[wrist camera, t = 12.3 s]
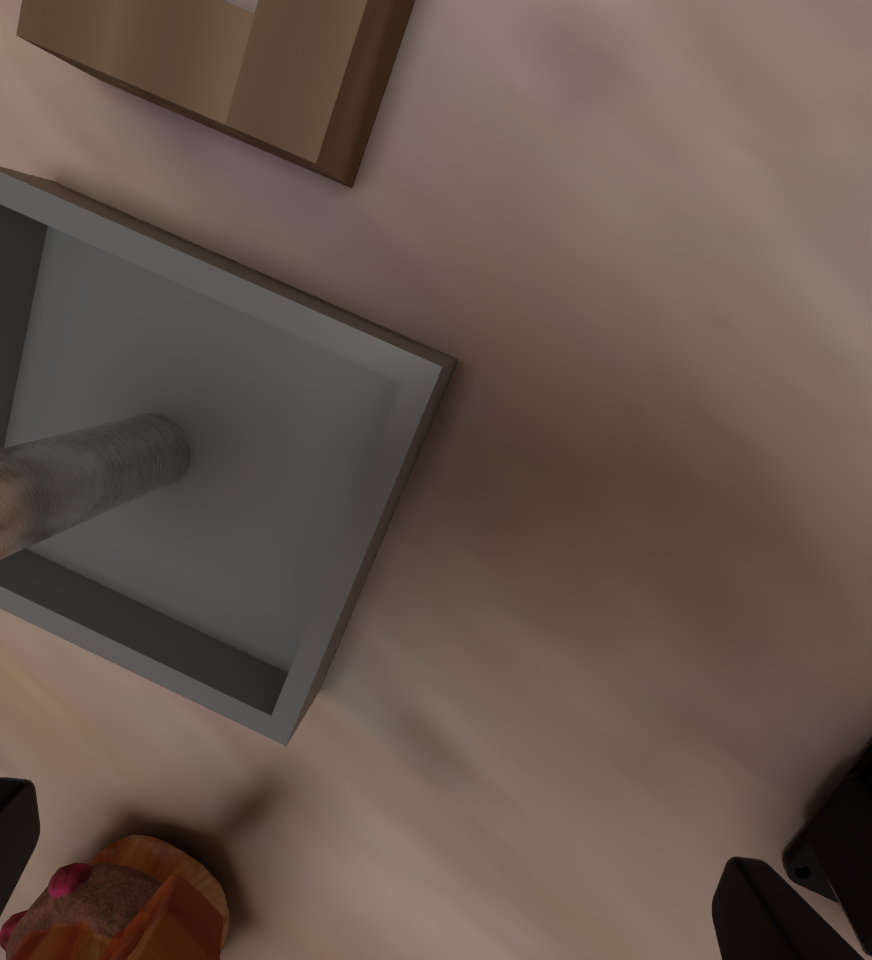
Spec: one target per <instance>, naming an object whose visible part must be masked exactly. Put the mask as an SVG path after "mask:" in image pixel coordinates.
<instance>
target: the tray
mask: <svg viewBox="0 0 872 960" xmlns="http://www.w3.org/2000/svg"><path fill="white" fill-rule="evenodd" d="M456 362H457V359H455V358H453V357H451V356H448V355H446V354H444V353H442V352H439V351H437V350H435V349H432V348H430V347H428V346H426V345H423V344H421V343H419V342H417V341H414V340H412V339H410V338H408V337H405V336H403V335H401V334H398V333H396V332H394V331H392V330H389V329H387V328H385V327H383V326H380V325H378V324H376V323H373V322H371V321H369V320H367V319H364V318H362V317H360V316H358V315H355V314H353V313H351V312H348V311H346V310H344V309H342V308H339V307H337V306H335V305H333V304H330V303H328V302H326V301H323V300H321V299H319V298H317V297H314V296H312V295H310V294H308V293H305V292H303V291H301V290H298V289H296V288H294V287H292V286H289V285H287V284H285V283H283V282H280V281H278V280H276V279H273V278H271V277H269V276H267V275H264V274H262V273H260V272H258V271H255V270H253V269H251V268H249V267H246V266H244V265H242V264H239V263H237V262H235V261H233V260H230V259H228V258H226V257H224V256H221V255H219V254H217V253H214V252H212V251H210V250H208V249H205V248H203V247H201V246H199V245H196V244H194V243H192V242H189V241H187V240H185V239H183V238H180V237H178V236H176V235H174V234H171V233H169V232H167V231H164V230H162V229H160V228H158V227H155V226H153V225H151V224H149V223H146V222H144V221H142V220H139V219H137V218H135V217H133V216H130V215H128V214H126V213H124V212H121V211H119V210H117V209H114V208H112V207H110V206H108V205H105V204H103V203H101V202H99V201H96V200H94V199H92V198H90V197H87V196H85V195H83V194H80V193H78V192H76V191H74V190H71V189H69V188H67V187H65V186H62V185H60V184H58V183H55V182H53V181H50V180H47V179H43V178H39V177H36V176H32V175H29V174H25V173H21V172H18V171H14V170H11V169H7V168H4V167H0V449H2V448H6V447H10V446H14V445H18V444H23V443H27V442H31V441H35V440H39V439H43V438H47V437H51V436H56V435H60V434H64V433H68V432H72V431H76V430H80V429H84V428H89V427H93V426H97V425H101V424H105V423H109V422H113V421H117V420H121V419H126V418H130V417H134V416H138V415H142V414H146V413H156V414H161V415H164V416H166V417H168V418H170V419H171V420H173V421H174V422H175V423H176V424H177V425H178V426H179V427H180V428H181V429H182V431H183V432H184V434H185V436H186V438H187V440H188V443H189V447H190V461H189V465H188V468H187V470H186V472H185V473H184V475H183V476H182V477H181V478H180V479H178V480H177V481H175V482H173V483H171V484H169V485H166V486H164V487H162V488H160V489H157V490H155V491H153V492H151V493H148V494H146V495H144V496H142V497H139V498H137V499H135V500H133V501H130V502H128V503H126V504H124V505H121V506H119V507H117V508H115V509H113V510H110V511H108V512H106V513H104V514H101V515H99V516H97V517H95V518H92V519H90V520H88V521H86V522H83V523H81V524H79V525H77V526H74V527H72V528H70V529H68V530H65V531H63V532H61V533H59V534H57V535H54V536H52V537H50V538H48V539H45V540H43V541H41V542H39V543H36V544H34V545H32V546H30V547H27V548H25V549H23V550H21V551H18V552H16V553H14V554H12V555H9V556H7V557H5V558H3V559H1V560H0V609H3V610H5V611H7V612H9V613H11V614H13V615H15V616H17V617H19V618H21V619H23V620H25V621H28V622H30V623H32V624H34V625H36V626H38V627H40V628H42V629H44V630H46V631H48V632H50V633H52V634H55V635H57V636H59V637H61V638H63V639H65V640H67V641H69V642H71V643H73V644H75V645H77V646H79V647H82V648H84V649H86V650H88V651H90V652H92V653H94V654H96V655H98V656H100V657H102V658H104V659H106V660H109V661H111V662H113V663H115V664H117V665H119V666H121V667H123V668H125V669H127V670H129V671H131V672H134V673H136V674H138V675H140V676H142V677H144V678H146V679H148V680H150V681H152V682H154V683H156V684H158V685H161V686H163V687H165V688H167V689H169V690H171V691H173V692H175V693H177V694H179V695H181V696H183V697H185V698H188V699H190V700H192V701H194V702H196V703H198V704H200V705H202V706H204V707H206V708H208V709H210V710H213V711H215V712H217V713H219V714H221V715H223V716H225V717H227V718H229V719H231V720H233V721H235V722H237V723H240V724H242V725H244V726H246V727H248V728H250V729H252V730H254V731H256V732H258V733H260V734H262V735H264V736H267V737H269V738H271V739H273V740H275V741H277V742H279V743H281V744H283V745H285V746H287V744H288V742H289V741H290V739H291V737H292V736H293V734H294V732H295V731H296V729H297V727H298V726H299V724H300V722H301V721H302V719H303V717H304V716H305V714H306V712H307V711H308V709H309V707H310V706H311V704H312V702H313V701H314V699H315V697H316V696H317V694H318V692H319V690H320V688H321V685H322V683H323V680H324V678H325V676H326V673H327V671H328V668H329V666H330V664H331V661H332V659H333V657H334V654H335V652H336V649H337V647H338V645H339V642H340V640H341V637H342V635H343V633H344V630H345V628H346V625H347V623H348V621H349V618H350V616H351V613H352V611H353V609H354V606H355V604H356V601H357V599H358V597H359V594H360V592H361V590H362V587H363V585H364V582H365V580H366V578H367V575H368V573H369V570H370V568H371V566H372V563H373V561H374V558H375V556H376V554H377V551H378V549H379V546H380V544H381V542H382V539H383V537H384V534H385V532H386V530H387V527H388V525H389V523H390V520H391V518H392V515H393V513H394V511H395V508H396V506H397V503H398V501H399V499H400V496H401V494H402V491H403V489H404V487H405V484H406V482H407V479H408V477H409V475H410V472H411V470H412V467H413V465H414V463H415V460H416V458H417V456H418V453H419V451H420V448H421V446H422V444H423V441H424V439H425V436H426V434H427V432H428V429H429V427H430V424H431V422H432V420H433V417H434V415H435V412H436V410H437V408H438V405H439V403H440V400H441V398H442V396H443V393H444V391H445V389H446V386H447V384H448V381H449V379H450V377H451V374H452V372H453V369H454V367H455V365H456Z"/></svg>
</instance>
